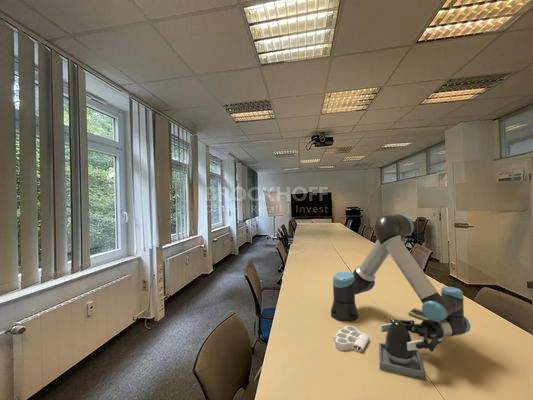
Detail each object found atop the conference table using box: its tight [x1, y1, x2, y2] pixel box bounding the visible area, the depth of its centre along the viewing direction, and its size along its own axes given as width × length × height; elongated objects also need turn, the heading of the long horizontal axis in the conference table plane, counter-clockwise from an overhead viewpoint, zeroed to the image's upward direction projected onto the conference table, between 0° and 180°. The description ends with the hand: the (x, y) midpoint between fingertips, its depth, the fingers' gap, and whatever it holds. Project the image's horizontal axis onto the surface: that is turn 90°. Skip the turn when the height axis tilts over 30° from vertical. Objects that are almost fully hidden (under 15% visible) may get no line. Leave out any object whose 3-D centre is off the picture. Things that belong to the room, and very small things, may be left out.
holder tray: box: [378, 342, 425, 380], centre depth 98 cm, size 15×15×2 cm
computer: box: [408, 307, 428, 321], centre depth 134 cm, size 16×8×3 cm, turn 34°
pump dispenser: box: [384, 317, 414, 364], centre depth 98 cm, size 10×10×15 cm
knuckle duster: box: [332, 325, 371, 353], centre depth 114 cm, size 3×18×15 cm
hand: (393, 337), depth 98 cm, fingers open, 13 cm apart
